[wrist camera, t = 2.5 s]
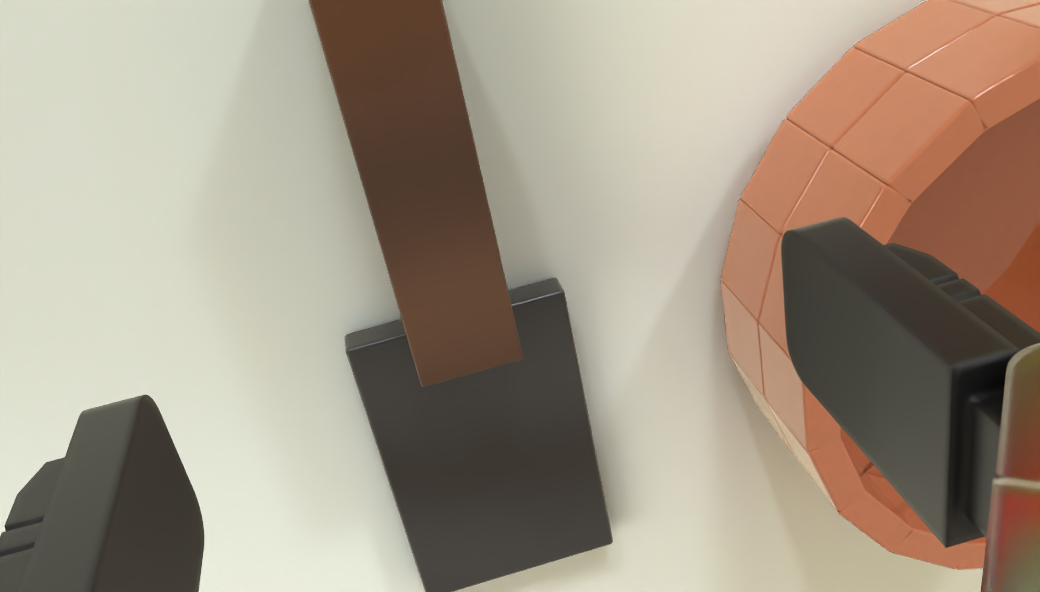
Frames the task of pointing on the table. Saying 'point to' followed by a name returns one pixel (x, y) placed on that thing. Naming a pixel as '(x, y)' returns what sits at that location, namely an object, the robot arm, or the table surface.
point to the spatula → (456, 321)
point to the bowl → (895, 215)
